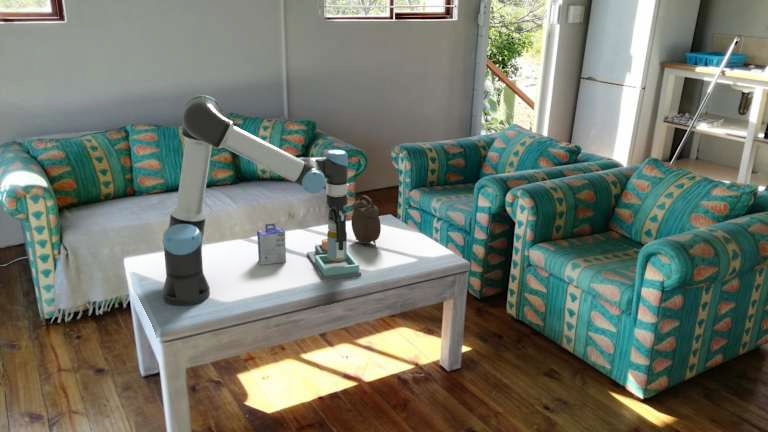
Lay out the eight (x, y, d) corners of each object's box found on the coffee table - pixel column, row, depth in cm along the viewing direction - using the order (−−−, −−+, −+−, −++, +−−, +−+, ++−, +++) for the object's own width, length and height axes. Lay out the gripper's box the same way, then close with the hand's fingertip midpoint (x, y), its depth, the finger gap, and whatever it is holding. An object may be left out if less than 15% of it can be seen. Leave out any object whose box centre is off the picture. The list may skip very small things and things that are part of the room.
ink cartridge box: (283, 256, 255) (282, 221, 251) (286, 262, 251) (286, 226, 246) (257, 260, 252) (256, 224, 247) (260, 265, 247) (259, 229, 242)
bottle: (350, 259, 245) (350, 220, 240) (339, 265, 240) (339, 226, 235) (335, 254, 249) (335, 216, 244) (323, 260, 243) (323, 222, 238)
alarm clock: (383, 247, 267) (384, 200, 260) (367, 250, 263) (368, 202, 257) (364, 235, 279) (365, 190, 272) (349, 238, 275) (350, 192, 268)
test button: (323, 256, 252) (323, 243, 250) (320, 251, 256) (320, 239, 255) (335, 254, 254) (335, 242, 252) (332, 250, 258) (332, 238, 256)
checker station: (324, 280, 237) (323, 269, 235) (307, 254, 258) (306, 244, 256) (361, 275, 241) (361, 264, 240) (341, 250, 263) (341, 241, 261)
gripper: (356, 201, 228) (355, 262, 236) (338, 185, 246) (338, 242, 254) (335, 203, 226) (334, 265, 233) (319, 186, 243) (319, 244, 251)
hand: (336, 253), depth 243 cm, fingers closed on bottle, 7 cm apart
